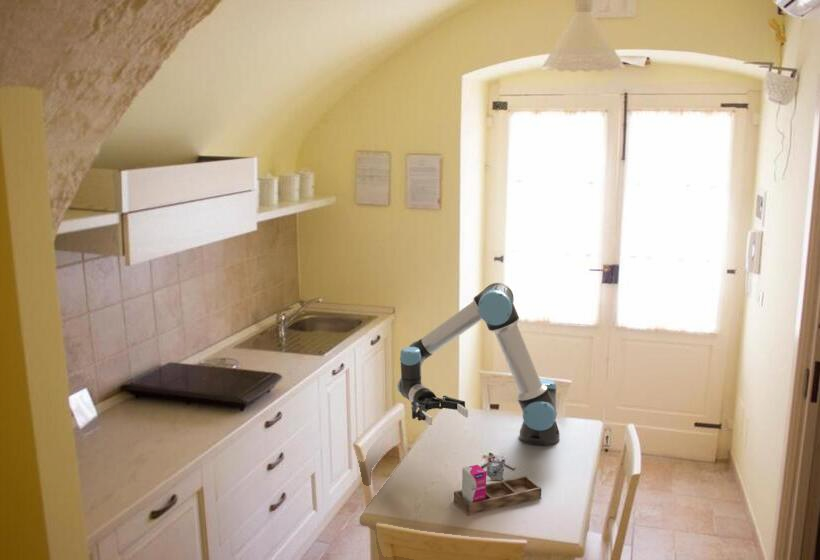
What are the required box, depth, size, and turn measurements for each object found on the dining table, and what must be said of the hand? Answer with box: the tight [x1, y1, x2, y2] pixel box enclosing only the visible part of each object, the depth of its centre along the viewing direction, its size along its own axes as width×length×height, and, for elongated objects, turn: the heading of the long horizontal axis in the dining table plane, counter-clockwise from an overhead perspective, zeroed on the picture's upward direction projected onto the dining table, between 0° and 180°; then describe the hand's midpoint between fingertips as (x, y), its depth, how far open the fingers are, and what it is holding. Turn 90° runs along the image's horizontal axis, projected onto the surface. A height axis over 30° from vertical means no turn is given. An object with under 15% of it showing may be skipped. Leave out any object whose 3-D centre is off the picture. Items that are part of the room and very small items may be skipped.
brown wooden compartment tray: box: [453, 475, 542, 516], centre depth 249 cm, size 27×10×4 cm, turn 113°
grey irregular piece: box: [485, 452, 506, 481], centre depth 272 cm, size 21×7×2 cm, turn 169°
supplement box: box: [461, 464, 487, 504], centre depth 245 cm, size 6×6×12 cm
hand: (449, 417), depth 260 cm, fingers open, 13 cm apart
